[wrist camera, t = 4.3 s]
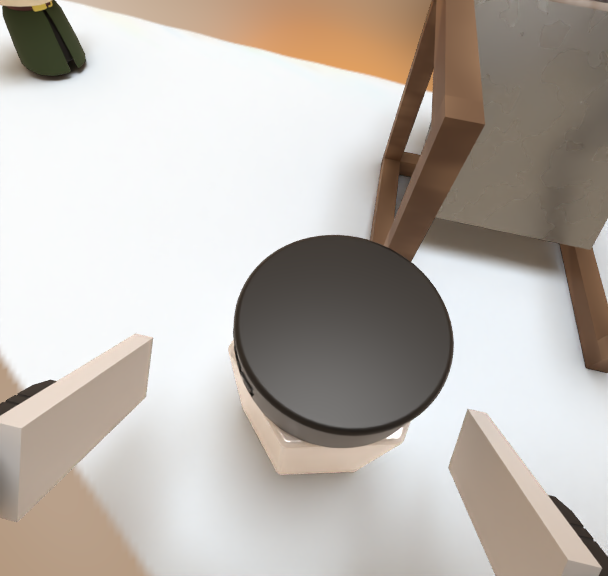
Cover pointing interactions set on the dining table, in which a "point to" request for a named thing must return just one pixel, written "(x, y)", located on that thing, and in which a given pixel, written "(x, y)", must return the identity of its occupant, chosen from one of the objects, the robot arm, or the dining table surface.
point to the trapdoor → (538, 124)
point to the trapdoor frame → (463, 158)
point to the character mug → (42, 36)
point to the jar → (337, 352)
